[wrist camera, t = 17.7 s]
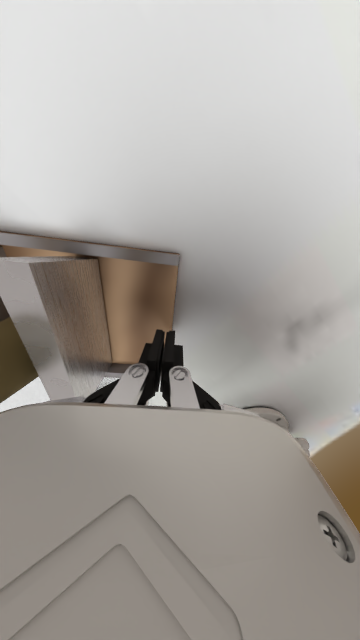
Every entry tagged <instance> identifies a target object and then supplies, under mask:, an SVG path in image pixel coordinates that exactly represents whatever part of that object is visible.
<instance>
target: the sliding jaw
mask: <svg viewBox="0 0 360 640" xmlns="http://www.w3.org/2000/svg"><path fill="white" fill-rule="evenodd" d="M0 296H1V298H2V301H3V303H4V305H5V307H6V309H7V311H8V313H9V315H10V317H11V319H12V321H13V323H14V325H15V327H16V329H17V332H18V334H19V336H20V338H21V340H22V342H23V344H24V346H25V348H26V350H27V352H28V354H29V356H30V358H31V360H32V363H33V365H34V367H35V369H36V371H37V373H38V375H39V377H40V379H41V381H42V383H43V385H44V387H45V389H46V391H47V394H48V396H49V398H50V400H51V401H52V400H59V399H66V398H72V397H79V396H84V398H85V397H88V396H89V395H91V394H92V393H94V392H95V391H96V389H97V388H98V386H99V384H100V383H101V381H102V379H103V378H104V376H105V374H106V373H107V371H108V369H109V368H110V366H111V364H112V357H111V350H110V343H109V336H108V329H107V322H106V315H105V308H104V301H103V294H102V287H101V280H100V273H99V266H98V259H94V258H86V257H77V256H47V257H0Z"/></svg>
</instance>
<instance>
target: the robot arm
mask: <svg viewBox="0 0 360 640" xmlns="http://www.w3.org/2000/svg"><path fill="white" fill-rule="evenodd" d="M164 339H165V332H164V331H163V330H159V329H157V330H156V333H155V336H154V339H153V342H152V343H146V344H145V346H144V349H143V352H142V354H141V357H140V359H139V362H138V363H135V364H133V365H131V366H129V367H128V369H127V370H126V371H125V373H124V374H123V376H122V377H121V378H120V379H118V380H116V381H114V382H112V383H111V384H109V385H107V386H105V387H103V388H101V389H99V390H98V391H96V392H94V393H92V394H91V395H89V396H88V397H85V398H84V396H79V397H72V398H66V399H59V400H52V401H47V402H43V403H36V404H30V405H25V406H21V407H17V408H13V409H9V410H6V411H3V412H1V413H0V640H360V534H359V532H358V531H357V529H356V527H355V526H354V524H353V523H352V521H351V520H350V518H349V516H348V515H347V513H346V511H345V510H344V508H343V507H342V506H341V504H340V502H339V501H338V500H337V498H336V496H335V495H334V493H333V492H332V490H331V489H330V487H329V486H328V484H327V483H326V481H325V480H324V478H323V476H322V475H321V474H320V472H319V471H318V469H317V468H316V466H315V465H314V463H313V462H312V461H311V459H310V458H309V456H310V454H309V451H308V449H309V443H308V442H307V440H306V439H304V438H293V437H292V436H291V435H290V433H289V431H288V428H289V424H288V422H287V420H286V418H285V417H284V416H283V414H282V413H280V412H279V411H276V410H274V409H270V408H249V409H245V410H244V409H240V408H237V407H233V406H230V405H226V404H223V405H220V404H219V403H218V402H217V401H216V400H215V399H214V398H213V397H211V396H210V395H209V394H208V393H207V392H205V391H204V390H203V389H202V388H201V387H199V386H198V385H197V384H196V383H195V382H193V381H192V378H191V375H190V372H189V370H188V369H187V368H185V367H183V346H180V345H174V342H175V331H171V330H169V332H167V333H166V339H165V345H164ZM160 376H161V387H160V392H163V394H162V397H163V398H164V399H165V400H166V401H167V407H162V406H147V405H148V402H149V399H150V398H152V397H153V396H155V391H156V392H158V389H159V383H160Z"/></svg>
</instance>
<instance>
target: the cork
mask: <svg viewBox="0 0 360 640" xmlns="http://www.w3.org/2000/svg"><path fill="white" fill-rule="evenodd" d="M38 376H39V375H38V373H37V371H36V369H35V367H34V365H33V363H32V360H31V358H30V356H29V354H28V352H27V350H26V348H25V346H24V344H23V342H22V340H21V338H20V336H19V334H18V332H17V329H16V327H15V325H14V323H13V321H12V319H11V317H8V318H7V319H5V320H3V321H1V322H0V403H1V402H3V401H4V400H6V399H7V398H8V397H10V396H11V395H13V394H14V393H16V392H17V391H18V390H20V389H21V388H23V387H24V386H26V385H27V384H28V383H30V382H31V381H33V380H34V379H36V378H37V377H38Z"/></svg>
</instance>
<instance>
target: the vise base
mask: <svg viewBox="0 0 360 640" xmlns="http://www.w3.org/2000/svg"><path fill="white" fill-rule="evenodd" d="M47 256H77V257H86V258H94V259H98V266H99V273H100V280H101V287H102V294H103V301H104V308H105V315H106V322H107V329H108V336H109V343H110V350H111V357H112V364H111V366H110V368H109V369H108V371H107V373H106V374H105V376H104V377H113V378H121V377H122V376H123V374H124V373H125V371H126V370H127V369H128V367H129V366H131V365H133V364H135V363H138V362H139V359H140V357H141V354H142V352H143V349H144V346H145V344H146V343H152V342H153V339H154V336H155V333H156V330H157V329H159V330H163V331H164V332H165V339H166V333H167V332H169V330H171V331H172V323H173V313H174V303H175V293H176V283H177V274H178V265H179V254H177V253H169V252H161V251H153V250H146V249H138V248H130V247H122V246H114V245H106V244H98V243H90V242H82V241H75V240H67V239H59V238H51V237H43V236H35V235H27V234H19V233H11V232H4V231H0V257H47ZM8 317H10V315H9V313H8V311H7V309H6V307H5V305H4V303H3V301H2V298H1V296H0V322H1V321H3V320H5V319H7V318H8ZM165 339H164V345H165ZM160 381H161V376H160Z"/></svg>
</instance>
